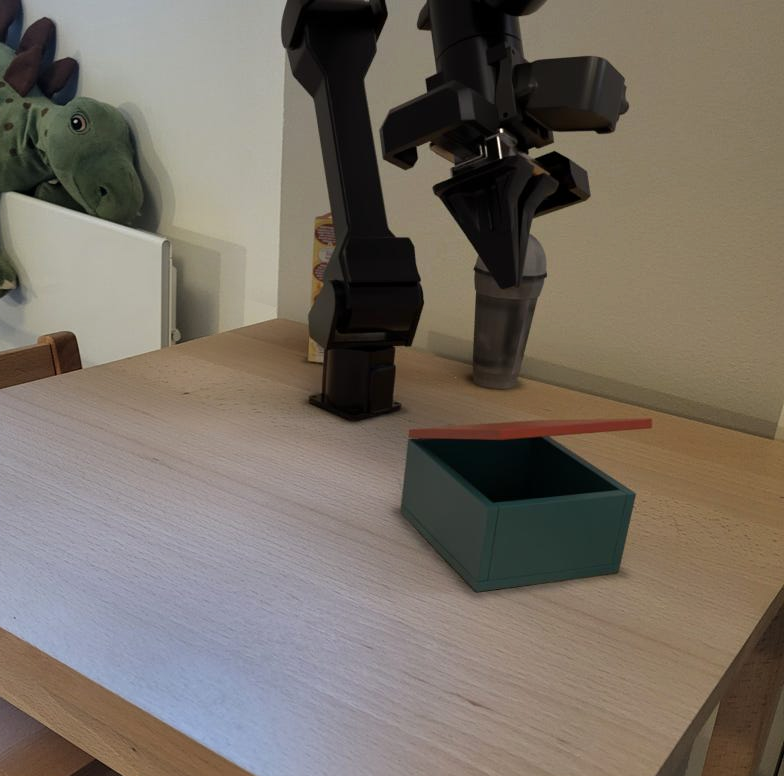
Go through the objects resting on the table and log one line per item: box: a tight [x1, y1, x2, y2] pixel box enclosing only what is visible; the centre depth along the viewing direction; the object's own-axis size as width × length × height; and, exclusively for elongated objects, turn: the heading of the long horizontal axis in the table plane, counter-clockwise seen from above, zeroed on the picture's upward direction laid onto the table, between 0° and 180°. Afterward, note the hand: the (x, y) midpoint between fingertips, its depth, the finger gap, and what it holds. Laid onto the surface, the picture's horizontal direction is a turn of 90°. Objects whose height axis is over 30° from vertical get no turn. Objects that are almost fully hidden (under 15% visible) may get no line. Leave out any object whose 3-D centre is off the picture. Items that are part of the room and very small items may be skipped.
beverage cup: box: [471, 233, 548, 390], centre depth 92 cm, size 7×7×20 cm
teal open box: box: [399, 436, 637, 593], centre depth 61 cm, size 11×10×6 cm
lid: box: [408, 417, 653, 440], centre depth 59 cm, size 12×10×1 cm
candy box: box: [307, 211, 336, 364], centre depth 99 cm, size 9×4×15 cm, turn 161°
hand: (510, 288), depth 59 cm, fingers closed
